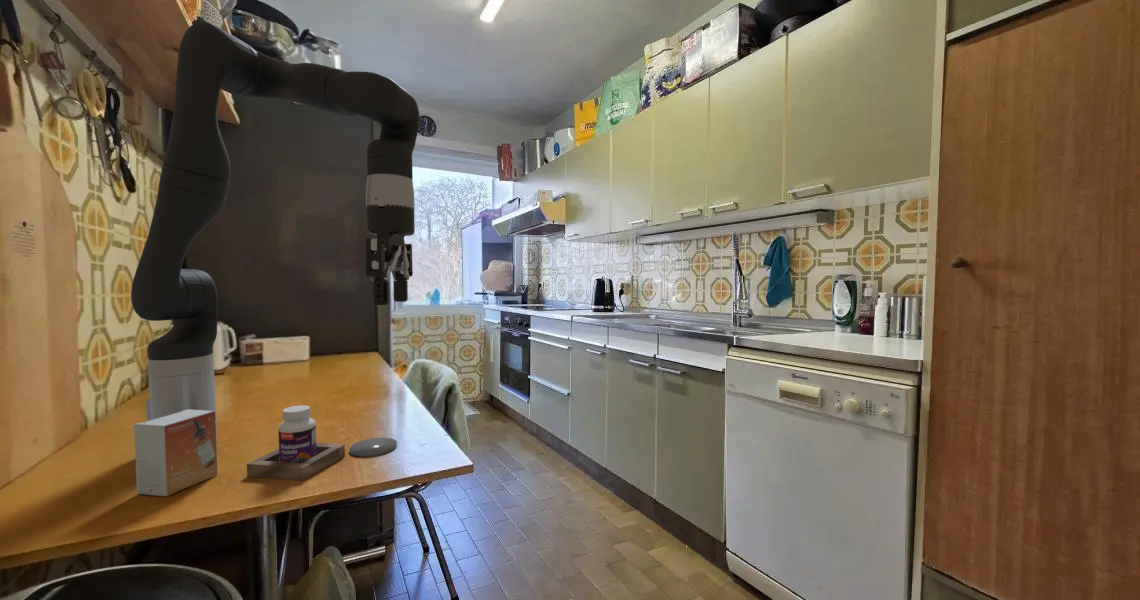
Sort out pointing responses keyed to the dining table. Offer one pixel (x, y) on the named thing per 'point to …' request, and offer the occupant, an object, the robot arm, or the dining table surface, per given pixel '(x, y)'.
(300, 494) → the dining table surface
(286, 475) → the frame
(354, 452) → the coaster
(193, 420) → the small box
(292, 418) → the pill bottle
